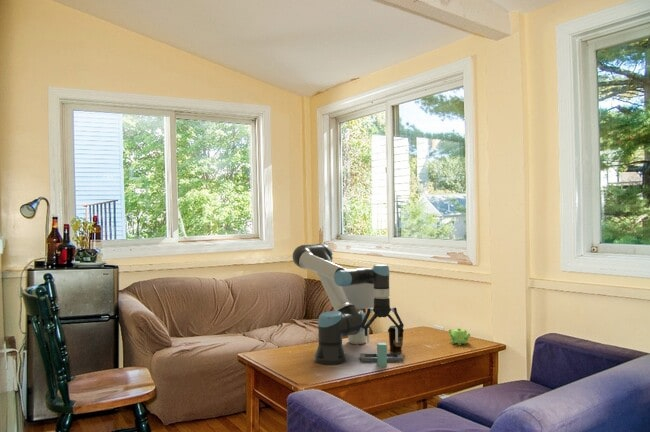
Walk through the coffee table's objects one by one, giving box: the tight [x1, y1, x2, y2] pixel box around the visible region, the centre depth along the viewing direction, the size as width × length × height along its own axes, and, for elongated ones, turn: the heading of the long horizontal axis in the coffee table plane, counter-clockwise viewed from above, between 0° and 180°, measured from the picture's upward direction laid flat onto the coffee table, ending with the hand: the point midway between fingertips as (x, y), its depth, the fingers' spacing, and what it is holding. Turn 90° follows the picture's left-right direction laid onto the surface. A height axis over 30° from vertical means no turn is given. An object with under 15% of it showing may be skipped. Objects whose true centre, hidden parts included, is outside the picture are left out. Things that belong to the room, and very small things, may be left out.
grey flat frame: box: [359, 352, 404, 363], centre depth 255 cm, size 20×9×2 cm, turn 93°
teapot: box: [448, 327, 471, 346], centre depth 285 cm, size 11×12×8 cm
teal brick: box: [376, 342, 388, 367], centre depth 246 cm, size 4×4×10 cm
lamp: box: [342, 283, 375, 345], centre depth 289 cm, size 20×20×39 cm
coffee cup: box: [387, 325, 405, 354], centre depth 269 cm, size 9×8×13 cm
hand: (382, 342), depth 246 cm, fingers open, 13 cm apart
